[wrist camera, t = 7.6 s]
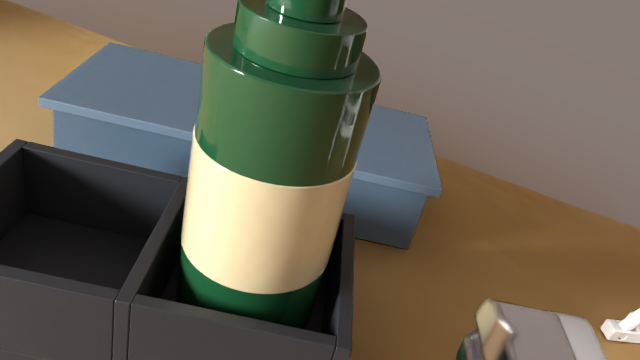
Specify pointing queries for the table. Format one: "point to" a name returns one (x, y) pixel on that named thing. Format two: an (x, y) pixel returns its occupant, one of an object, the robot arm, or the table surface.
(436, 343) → the table surface
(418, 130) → the blue-grey rectangular block
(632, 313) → the film strip holder
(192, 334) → the divided storage box
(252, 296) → the bottle
